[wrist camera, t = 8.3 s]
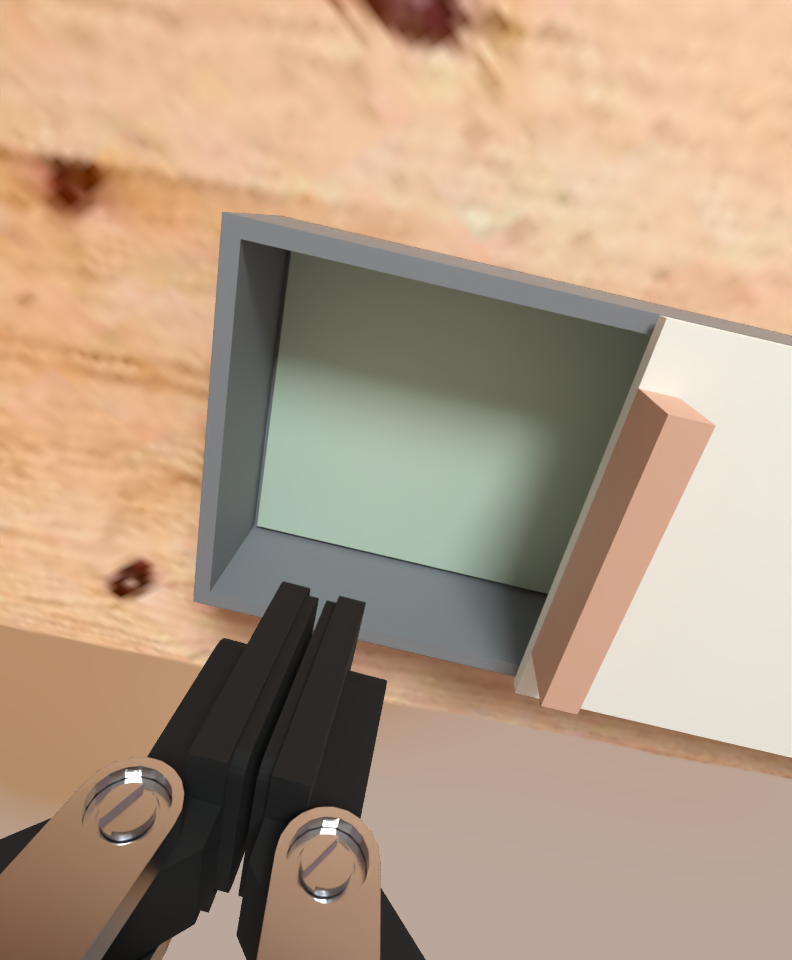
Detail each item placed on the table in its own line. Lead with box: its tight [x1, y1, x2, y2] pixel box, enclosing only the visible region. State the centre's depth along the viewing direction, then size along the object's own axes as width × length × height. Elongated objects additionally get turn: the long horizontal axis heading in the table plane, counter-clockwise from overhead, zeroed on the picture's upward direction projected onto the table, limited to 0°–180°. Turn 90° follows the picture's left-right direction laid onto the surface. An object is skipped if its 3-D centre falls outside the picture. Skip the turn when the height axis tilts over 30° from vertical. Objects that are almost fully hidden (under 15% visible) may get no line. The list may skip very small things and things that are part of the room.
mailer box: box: [193, 212, 792, 676], centre depth 22 cm, size 20×14×6 cm
